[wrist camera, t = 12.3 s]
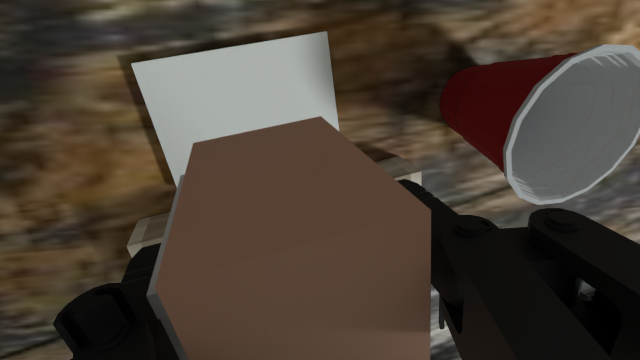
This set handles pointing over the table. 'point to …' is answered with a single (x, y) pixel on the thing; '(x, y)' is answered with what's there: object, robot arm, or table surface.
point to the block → (296, 252)
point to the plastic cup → (550, 118)
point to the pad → (236, 91)
